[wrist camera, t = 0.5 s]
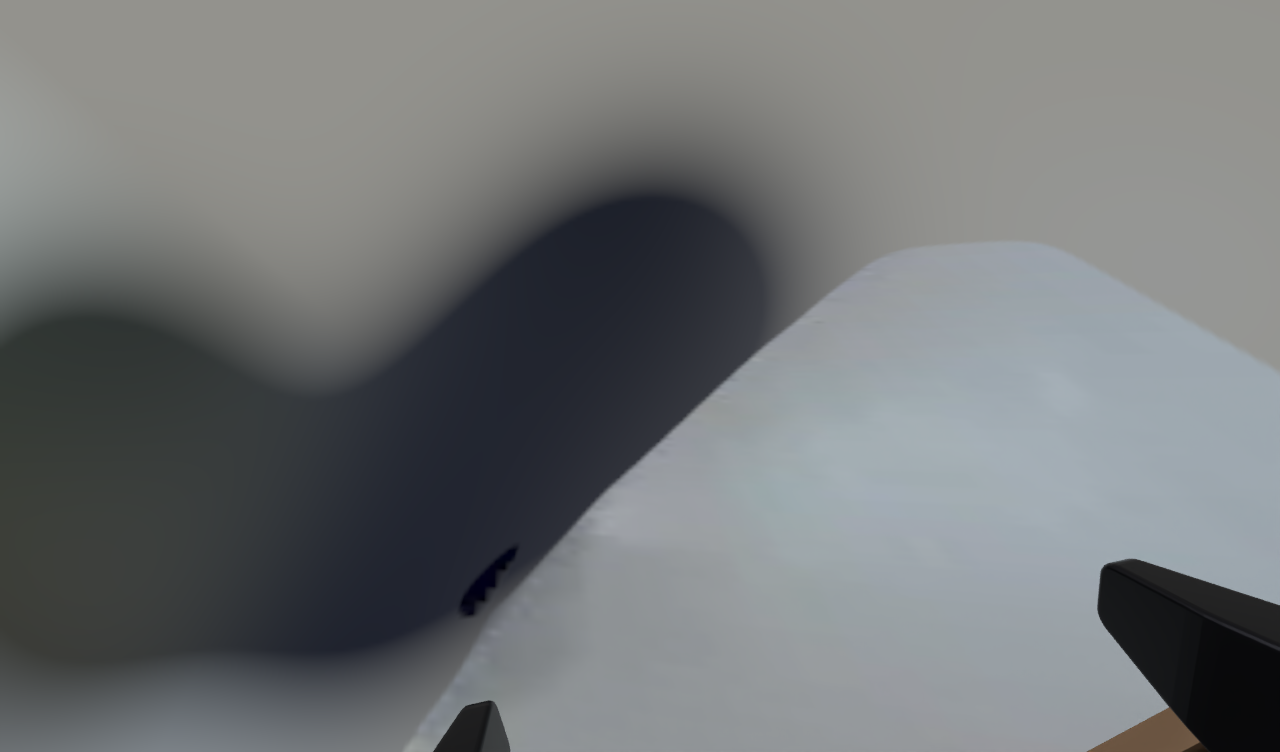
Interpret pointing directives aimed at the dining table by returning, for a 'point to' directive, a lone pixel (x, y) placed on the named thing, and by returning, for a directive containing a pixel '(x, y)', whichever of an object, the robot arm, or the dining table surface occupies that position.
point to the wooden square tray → (1154, 737)
